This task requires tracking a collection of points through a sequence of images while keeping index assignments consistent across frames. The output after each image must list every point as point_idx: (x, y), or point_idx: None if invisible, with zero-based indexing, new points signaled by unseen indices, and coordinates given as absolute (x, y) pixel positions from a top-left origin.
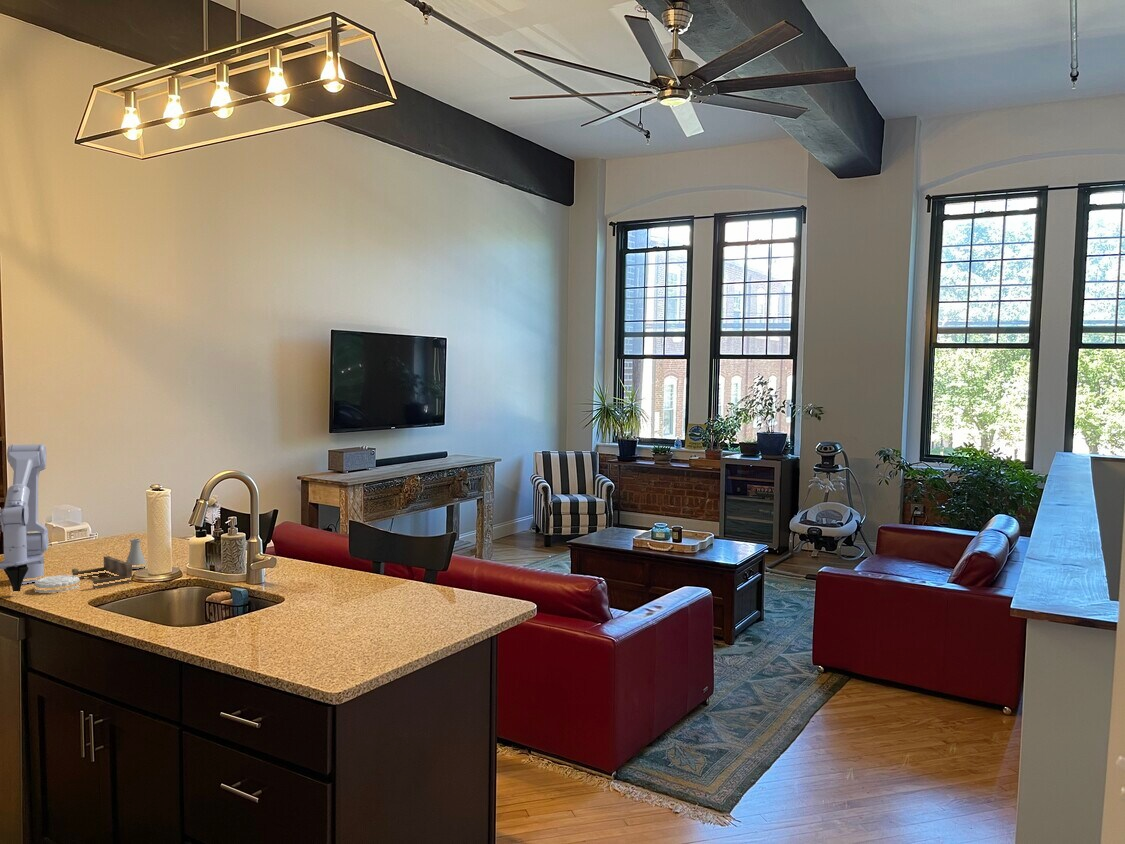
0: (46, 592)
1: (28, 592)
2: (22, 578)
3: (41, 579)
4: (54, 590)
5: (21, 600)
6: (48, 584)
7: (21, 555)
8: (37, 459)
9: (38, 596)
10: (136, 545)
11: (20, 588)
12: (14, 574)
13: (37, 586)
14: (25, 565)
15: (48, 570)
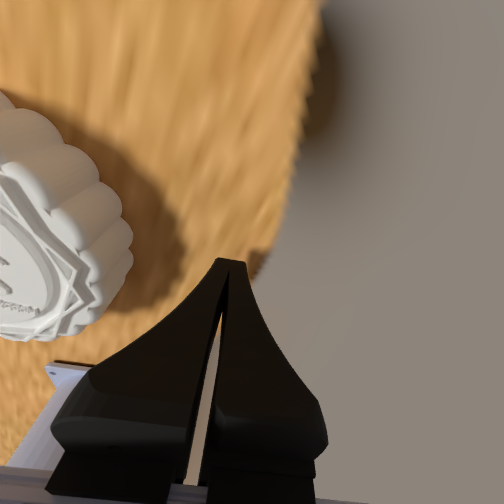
0: (75, 153)
1: (161, 272)
2: (182, 312)
3: (53, 318)
4: (4, 110)
5: (279, 110)
6: (7, 166)
7: None
8: None
9: (145, 122)
10: None
11: (212, 265)
12: (257, 368)
13: (104, 245)
14: (70, 479)
15: None
